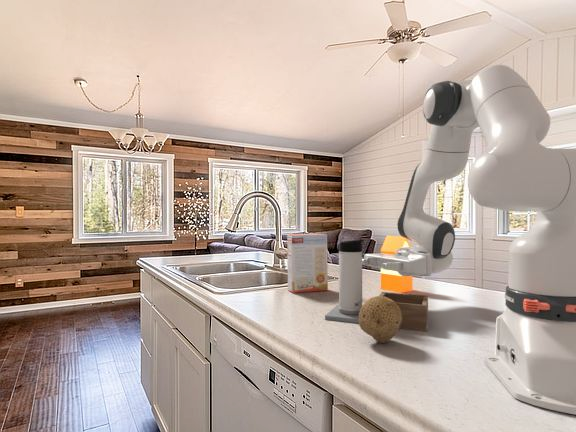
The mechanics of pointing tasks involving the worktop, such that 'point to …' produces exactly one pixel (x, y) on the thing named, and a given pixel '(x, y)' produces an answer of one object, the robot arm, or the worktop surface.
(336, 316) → the mat
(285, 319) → the worktop surface
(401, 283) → the orange juice
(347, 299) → the travel mug
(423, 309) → the wooden box
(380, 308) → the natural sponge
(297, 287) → the cracker box
